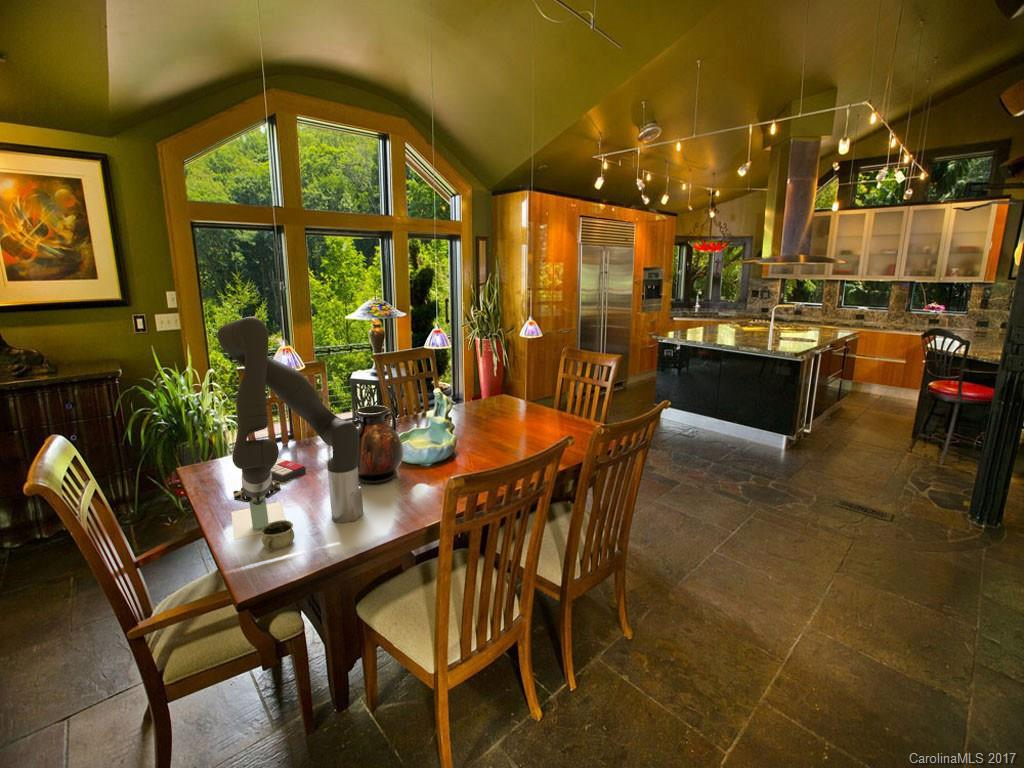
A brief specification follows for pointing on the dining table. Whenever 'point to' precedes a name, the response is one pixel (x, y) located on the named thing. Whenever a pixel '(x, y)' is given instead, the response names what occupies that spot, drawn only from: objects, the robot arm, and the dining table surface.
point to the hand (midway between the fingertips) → (257, 502)
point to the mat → (244, 521)
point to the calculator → (286, 470)
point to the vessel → (277, 535)
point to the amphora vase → (377, 446)
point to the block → (259, 514)
